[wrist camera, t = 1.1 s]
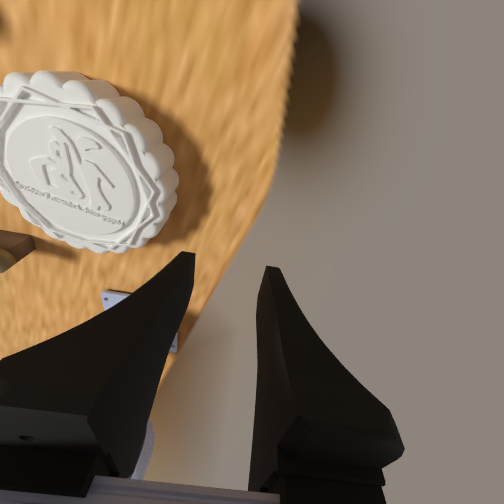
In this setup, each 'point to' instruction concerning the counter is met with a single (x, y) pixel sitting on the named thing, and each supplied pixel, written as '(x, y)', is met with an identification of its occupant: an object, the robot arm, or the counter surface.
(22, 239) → the lid holder
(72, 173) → the mooncake
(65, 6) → the counter surface
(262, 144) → the counter surface
